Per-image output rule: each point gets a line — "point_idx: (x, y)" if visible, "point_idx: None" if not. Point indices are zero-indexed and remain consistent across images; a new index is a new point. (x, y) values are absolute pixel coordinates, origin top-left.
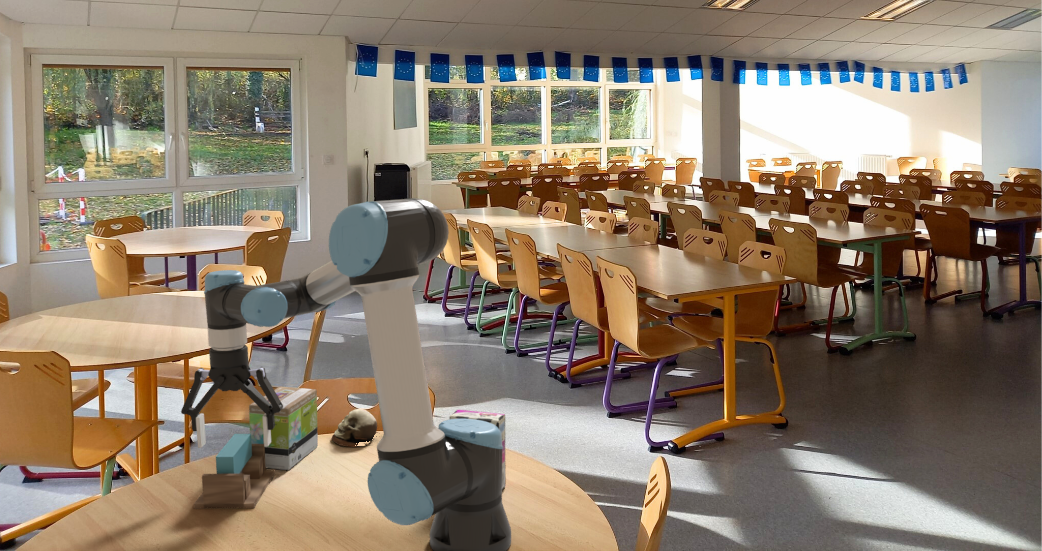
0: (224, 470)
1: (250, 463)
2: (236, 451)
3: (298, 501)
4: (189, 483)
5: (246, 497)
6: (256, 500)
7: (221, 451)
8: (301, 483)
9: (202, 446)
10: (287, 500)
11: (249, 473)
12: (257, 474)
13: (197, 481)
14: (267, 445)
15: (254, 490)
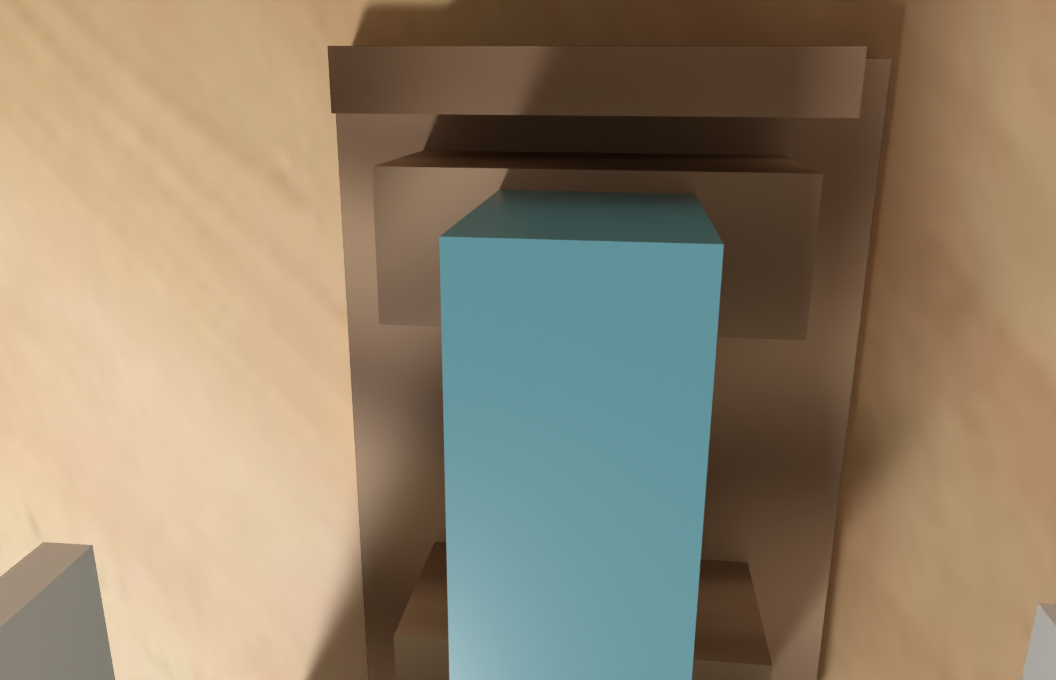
0: (599, 208)
1: None
2: (455, 444)
3: (42, 181)
4: (1026, 570)
5: (419, 152)
6: (341, 145)
7: (686, 463)
8: (134, 498)
9: (1034, 643)
10: (131, 203)
11: None
12: (441, 564)
13: (964, 601)
14: (39, 551)
15: (409, 327)
